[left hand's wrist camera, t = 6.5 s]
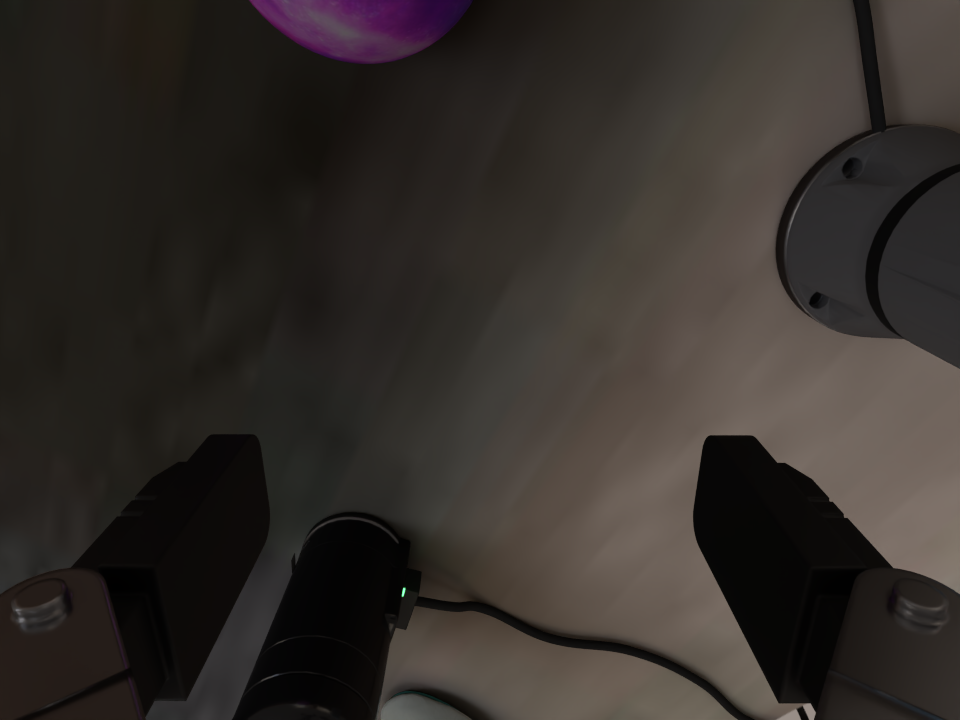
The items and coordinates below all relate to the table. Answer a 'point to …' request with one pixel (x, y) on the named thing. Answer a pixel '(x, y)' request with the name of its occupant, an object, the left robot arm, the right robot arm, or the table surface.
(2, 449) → the table surface
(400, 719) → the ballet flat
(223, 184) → the table surface
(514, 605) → the table surface
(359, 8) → the decorative orb
